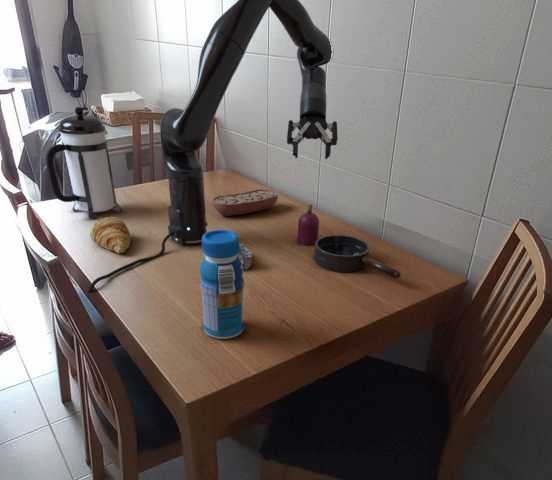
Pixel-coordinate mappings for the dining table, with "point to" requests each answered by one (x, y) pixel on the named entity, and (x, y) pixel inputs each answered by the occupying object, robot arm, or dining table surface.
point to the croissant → (111, 234)
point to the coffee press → (84, 164)
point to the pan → (340, 253)
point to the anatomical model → (245, 202)
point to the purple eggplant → (308, 227)
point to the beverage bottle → (222, 284)
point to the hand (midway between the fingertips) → (311, 157)
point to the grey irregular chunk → (244, 256)
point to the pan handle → (381, 267)
